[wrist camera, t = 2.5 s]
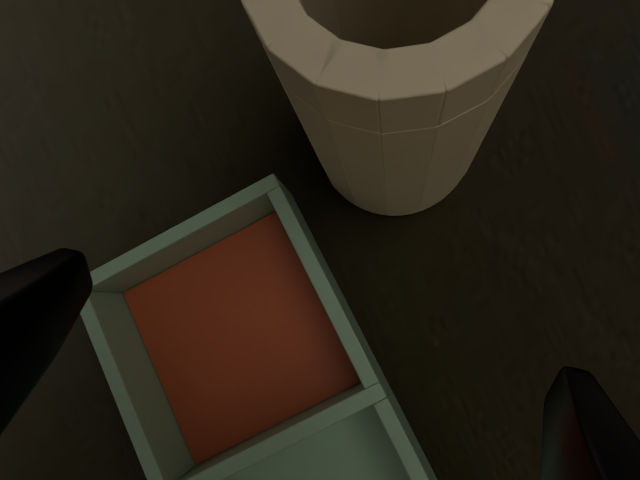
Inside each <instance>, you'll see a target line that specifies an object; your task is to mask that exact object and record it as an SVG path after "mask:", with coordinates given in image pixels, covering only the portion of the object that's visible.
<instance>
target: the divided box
mask: <svg viewBox="0 0 640 480" xmlns="http://www.w3.org/2000/svg"><path fill="white" fill-rule="evenodd" d="M90 274H91V277H92V281H93V288H92V292H91V294H90V296H89V298H88V300H87V302H86V304H85V305H84V307H83V309H82V311H81V313H80V315H81V317H82V320H83V322H84V324H85V327H86V329H87V332H88V334H89V337H90V339H91V342H92V344H93V347H94V349H95V352H96V354H97V357H98V359H99V362H100V364H101V367H102V369H103V372H104V374H105V377H106V379H107V382H108V384H109V387H110V389H111V392H112V394H113V397H114V399H115V402H116V404H117V407H118V409H119V411H120V414H121V416H122V419H123V421H124V424H125V426H126V429H127V431H128V434H129V436H130V439H131V441H132V444H133V446H134V449H135V451H136V454H137V456H138V459H139V461H140V464H141V466H142V469H143V471H144V474H145V476H146V479H147V480H437V478H436V476H435V474H434V472H433V470H432V468H431V466H430V464H429V462H428V460H427V458H426V456H425V454H424V453H423V451H422V449H421V447H420V445H419V443H418V441H417V439H416V437H415V435H414V433H413V431H412V429H411V427H410V425H409V423H408V421H407V419H406V417H405V415H404V413H403V411H402V409H401V407H400V406H399V404H398V402H397V400H396V398H395V396H394V394H393V392H392V390H391V388H390V386H389V384H388V382H387V380H386V378H385V376H384V374H383V372H382V370H381V368H380V366H379V364H378V362H377V361H376V359H375V357H374V355H373V353H372V351H371V349H370V347H369V345H368V343H367V341H366V339H365V337H364V335H363V333H362V331H361V329H360V327H359V325H358V323H357V321H356V319H355V317H354V315H353V314H352V312H351V310H350V308H349V306H348V304H347V302H346V300H345V298H344V296H343V294H342V292H341V290H340V288H339V286H338V284H337V282H336V280H335V278H334V276H333V274H332V272H331V270H330V268H329V267H328V265H327V263H326V261H325V259H324V257H323V255H322V253H321V251H320V249H319V247H318V245H317V243H316V241H315V239H314V237H313V235H312V233H311V231H310V229H309V227H308V225H307V223H306V221H305V220H304V218H303V216H302V214H301V212H300V210H299V208H298V206H297V204H296V202H295V200H294V198H293V196H292V194H291V193H290V192H289V191H288V190H287V188H286V187H285V186H284V185H283V184H282V183H281V182H280V180H279V179H278V178H277V177H276V176H275V175H274V174H271V175H269V176H267V177H265V178H263V179H262V180H260V181H258V182H256V183H254V184H252V185H251V186H249V187H247V188H245V189H243V190H241V191H239V192H238V193H236V194H234V195H232V196H230V197H228V198H226V199H225V200H223V201H221V202H219V203H217V204H215V205H213V206H212V207H210V208H208V209H206V210H204V211H202V212H201V213H199V214H197V215H195V216H193V217H191V218H189V219H188V220H186V221H184V222H182V223H180V224H178V225H176V226H175V227H173V228H171V229H169V230H167V231H165V232H164V233H162V234H160V235H158V236H156V237H154V238H152V239H151V240H149V241H147V242H145V243H143V244H141V245H139V246H138V247H136V248H134V249H132V250H130V251H128V252H126V253H125V254H123V255H121V256H119V257H117V258H115V259H114V260H112V261H110V262H108V263H106V264H104V265H102V266H101V267H99V268H97V269H95V270H93V271H91V272H90Z"/></svg>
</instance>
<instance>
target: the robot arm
mask: <svg viewBox="0 0 640 480" xmlns="http://www.w3.org/2000/svg"><path fill="white" fill-rule="evenodd" d="M92 288H93V281H92V277H91V274H90V270H89V267H88V263H87V260H86V257H85V255H84V254H83V253H82V252H80V251H76V250H72V249H68V248H60V249H57V250H55V251H52V252H50V253H48V254H45V255H43V256H40V257H38V258H36V259H33V260H31V261H28V262H26V263H24V264H21V265H19V266H16V267H14V268H12V269H9V270H7V271H4V272H2V273H0V436H1V434H2V433H3V431H4V430H5V429H6V427H7V426H8V424H9V423H10V421H11V420H12V419H13V417H14V416H15V414H16V413H17V411H18V410H19V409H20V407H21V406H22V404H23V403H24V401H25V400H26V399H27V397H28V396H29V394H30V393H31V392H32V390H33V389H34V387H35V386H36V384H37V383H38V382H39V380H40V379H41V377H42V376H43V374H44V373H45V372H46V370H47V369H48V367H49V366H50V364H51V363H52V361H53V360H54V358H55V357H56V355H57V353H58V352H59V350H60V348H61V347H62V345H63V343H64V341H65V339H66V338H67V336H68V334H69V332H70V330H71V329H72V327H73V325H74V323H75V321H76V320H77V318H78V316H79V314H80V313H81V311H82V309H83V307H84V305H85V304H86V302H87V300H88V298H89V296H90V294H91V292H92ZM541 480H640V441H639V439H638V438H637V437H636V435H635V434H634V432H633V431H632V430H631V428H630V427H629V425H628V424H627V423H626V421H625V420H624V418H623V417H622V415H621V414H620V413H619V411H618V410H617V408H616V407H615V406H614V404H613V403H612V401H611V400H610V399H609V397H608V396H607V394H606V393H605V391H604V390H603V389H602V387H601V386H600V384H599V383H598V382H597V380H596V379H595V377H594V376H593V375H592V374H591V373H590V372H588V371H586V370H582V369H577V368H573V367H569V366H565V367H563V368H562V369H561V370H560V371H559V373H558V375H557V377H556V378H555V380H554V382H553V384H552V386H551V387H550V389H549V391H548V393H547V395H546V398H545V402H544V414H543V438H542V462H541Z"/></svg>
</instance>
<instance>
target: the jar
mask: <svg viewBox="0 0 640 480" xmlns="http://www.w3.org/2000/svg"><path fill="white" fill-rule="evenodd" d="M553 1H554V0H241V3H242V5H243V7H244V9H245V11H246V13H247V15H248V17H249V19H250V21H251V23H252V25H253V27H254V29H255V31H256V33H257V35H258V37H259V39H260V41H261V43H262V45H263V47H264V49H265V51H266V53H267V55H268V57H269V59H270V61H271V63H272V65H273V67H274V69H275V71H276V74H277V76H278V78H279V80H280V82H281V84H282V86H283V88H284V90H285V92H286V94H287V96H288V98H289V100H290V102H291V104H292V106H293V108H294V110H295V112H296V114H297V116H298V118H299V120H300V122H301V124H302V126H303V128H304V130H305V132H306V134H307V136H308V138H309V140H310V142H311V144H312V146H313V148H314V150H315V152H316V154H317V156H318V158H319V160H320V162H321V164H322V166H323V168H324V170H325V172H326V174H327V176H328V178H329V179H330V181H331V183H332V185H333V187H334V188H335V189H337V191H338V192H339V193H340V194H341V195H342V196H343V197H344V198H346V199H347V200H348V201H350V202H351V203H352V204H354V205H356V206H358V207H359V208H361V209H363V210H366V211H369V212H372V213H376V214H380V215H389V216H398V215H407V214H413V213H416V212H419V211H422V210H425V209H427V208H429V207H431V206H433V205H435V204H436V203H438V202H440V201H441V200H442V199H443V198H445V197H446V196H447V195H448V194H449V193H450V192H451V191H452V190H453V189H454V188H455V187H456V185H457V184H458V183H459V181H460V180H461V178H462V177H463V176H464V175H465V174H466V172H467V170H468V168H469V166H470V164H471V162H472V160H473V158H474V156H475V154H476V152H477V151H478V149H479V147H480V145H481V143H482V141H483V139H484V137H485V135H486V133H487V131H488V129H489V127H490V125H491V123H492V122H493V120H494V118H495V116H496V114H497V112H498V110H499V108H500V106H501V104H502V102H503V100H504V98H505V96H506V94H507V92H508V91H509V89H510V87H511V85H512V83H513V81H514V79H515V77H516V75H517V73H518V71H519V69H520V67H521V65H522V63H523V61H524V60H525V58H526V56H527V53H528V51H529V49H530V47H531V45H532V43H533V42H534V40H535V38H536V36H537V34H538V32H539V30H540V28H541V26H542V24H543V22H544V20H545V18H546V16H547V14H548V12H549V10H550V9H551V7H552V5H553Z"/></svg>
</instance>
